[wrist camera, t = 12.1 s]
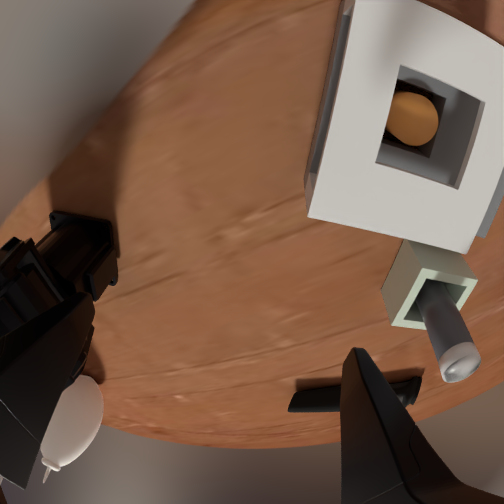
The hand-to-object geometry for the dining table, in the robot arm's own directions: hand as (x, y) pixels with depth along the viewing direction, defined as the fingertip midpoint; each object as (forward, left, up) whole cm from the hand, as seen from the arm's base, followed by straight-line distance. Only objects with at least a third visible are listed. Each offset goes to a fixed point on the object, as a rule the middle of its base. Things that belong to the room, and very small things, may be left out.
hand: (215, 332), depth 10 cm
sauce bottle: (-19, -32, -13) cm, 39 cm away
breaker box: (+10, +7, -13) cm, 18 cm away
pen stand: (+14, -4, -13) cm, 20 cm away
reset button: (+8, +7, -14) cm, 17 cm away
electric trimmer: (+15, -21, -14) cm, 29 cm away
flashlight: (+14, -4, -13) cm, 19 cm away
